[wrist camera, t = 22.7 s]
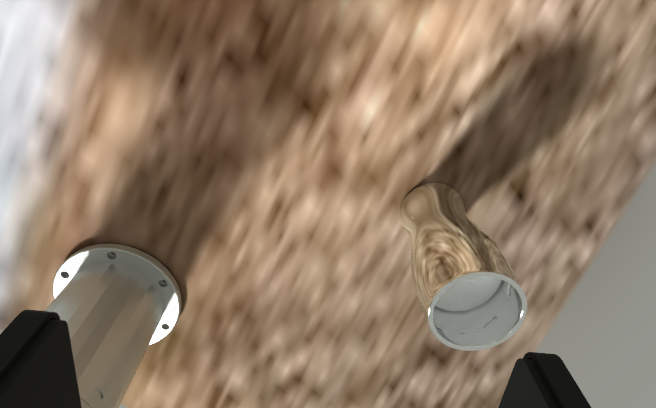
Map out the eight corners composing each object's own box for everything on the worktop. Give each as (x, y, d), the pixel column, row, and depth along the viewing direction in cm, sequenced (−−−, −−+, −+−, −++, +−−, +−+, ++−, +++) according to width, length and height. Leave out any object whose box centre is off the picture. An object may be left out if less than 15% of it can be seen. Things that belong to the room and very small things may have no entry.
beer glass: (457, 166, 42) (518, 255, 29) (476, 228, 45) (540, 335, 32) (384, 193, 43) (410, 290, 30) (407, 252, 46) (441, 365, 33)
